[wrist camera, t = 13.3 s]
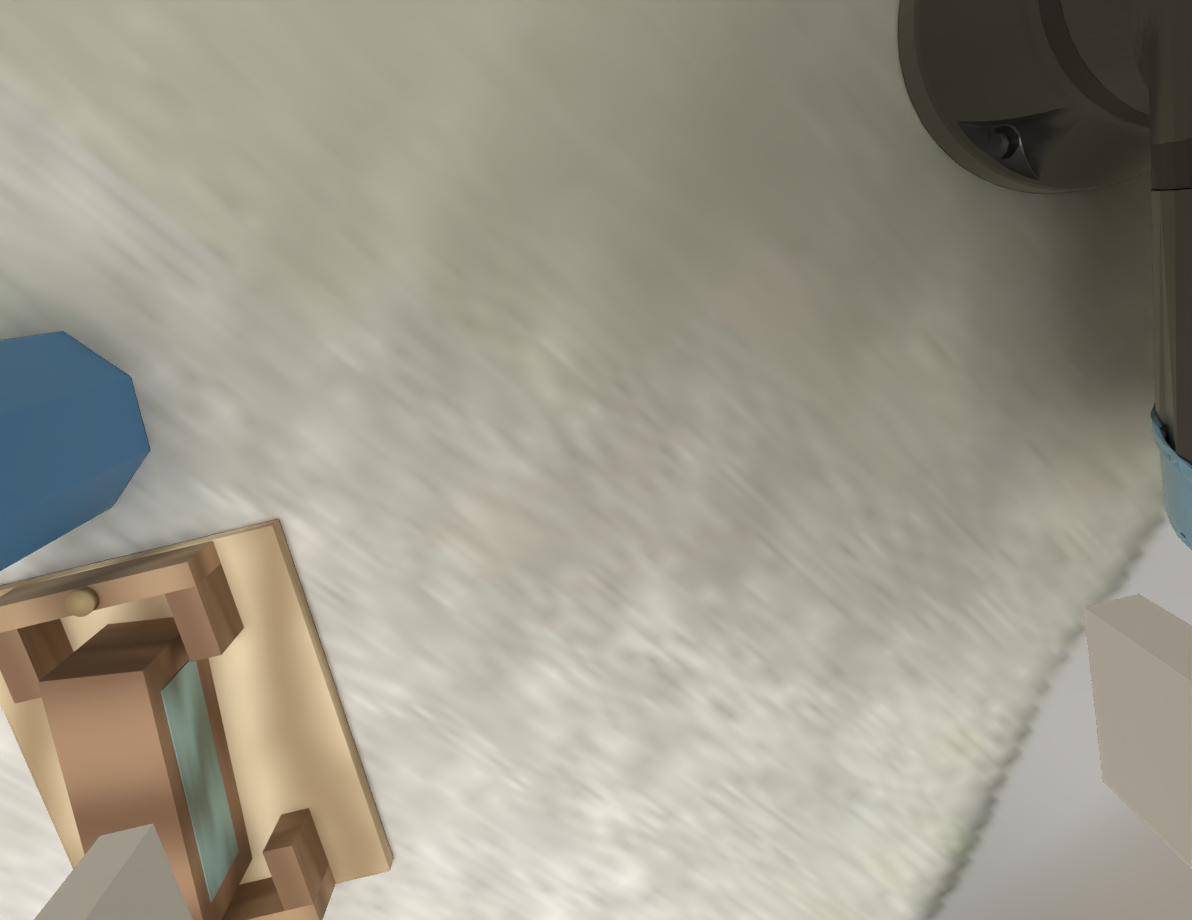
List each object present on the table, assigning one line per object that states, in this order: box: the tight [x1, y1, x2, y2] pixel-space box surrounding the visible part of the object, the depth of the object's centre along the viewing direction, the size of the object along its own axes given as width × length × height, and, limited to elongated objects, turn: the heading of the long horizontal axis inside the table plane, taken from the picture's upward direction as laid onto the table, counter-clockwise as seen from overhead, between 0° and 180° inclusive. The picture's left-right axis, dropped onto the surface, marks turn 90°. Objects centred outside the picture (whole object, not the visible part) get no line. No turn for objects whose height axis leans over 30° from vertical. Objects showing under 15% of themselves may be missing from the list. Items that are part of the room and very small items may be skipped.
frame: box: [38, 617, 253, 920], centre depth 43 cm, size 14×5×6 cm, turn 6°
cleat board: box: [0, 519, 393, 920], centre depth 44 cm, size 16×20×5 cm
